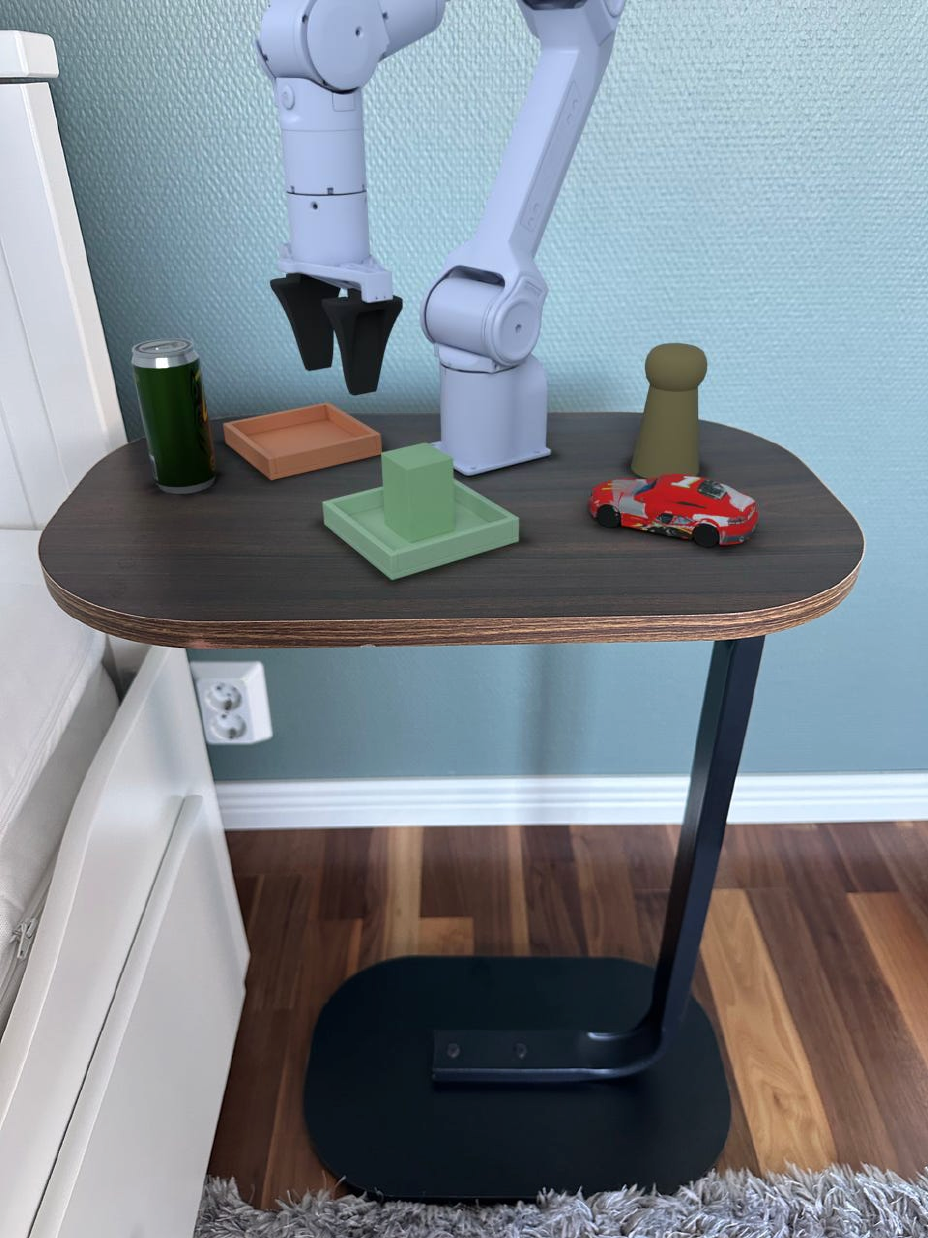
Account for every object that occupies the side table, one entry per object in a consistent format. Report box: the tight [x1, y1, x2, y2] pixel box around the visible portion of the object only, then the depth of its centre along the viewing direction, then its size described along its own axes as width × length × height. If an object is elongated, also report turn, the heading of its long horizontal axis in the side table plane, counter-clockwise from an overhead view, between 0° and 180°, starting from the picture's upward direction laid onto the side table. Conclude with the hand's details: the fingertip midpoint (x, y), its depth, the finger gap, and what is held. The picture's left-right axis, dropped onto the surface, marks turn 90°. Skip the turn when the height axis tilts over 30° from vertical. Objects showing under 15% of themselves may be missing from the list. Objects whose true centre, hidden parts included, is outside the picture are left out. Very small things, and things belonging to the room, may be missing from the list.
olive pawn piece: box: [630, 342, 708, 479], centre depth 82 cm, size 6×6×11 cm
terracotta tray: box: [222, 401, 383, 481], centre depth 90 cm, size 11×11×2 cm
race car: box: [588, 474, 759, 548], centre depth 74 cm, size 13×5×4 cm, turn 61°
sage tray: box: [321, 477, 520, 581], centre depth 74 cm, size 11×11×2 cm
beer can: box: [130, 337, 218, 495], centre depth 80 cm, size 5×5×12 cm
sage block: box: [380, 441, 455, 543], centre depth 72 cm, size 4×4×6 cm
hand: (339, 380), depth 74 cm, fingers open, 7 cm apart
